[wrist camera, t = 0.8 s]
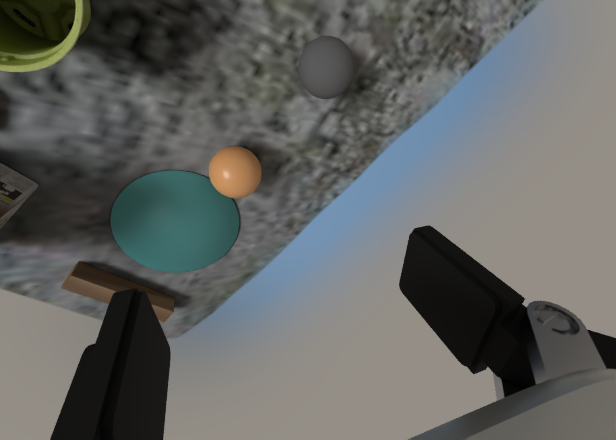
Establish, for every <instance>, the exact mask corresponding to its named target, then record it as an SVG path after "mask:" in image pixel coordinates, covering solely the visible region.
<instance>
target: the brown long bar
mask: <svg viewBox="0 0 616 440" xmlns="http://www.w3.org/2000/svg"><path fill="white" fill-rule="evenodd" d="M61 288H62V289H65V290H68V291H71V292H74V293H77V294H80V295H83V296H87V297H90V298H93V299H96V300H99V301H102V302H105V303H108V304H109V303H110V300H111V297H112V295H113V293H115V292H119V291H123V290H128V289H133V288H137V289H138V290H139V292H142V291H145V292H146V293H147V296H148V298H149V300H150V302H151V305H152V307H153V309H154V312H155V314H156V316H157V318H158V320H160V321H163V322H165V321H166V320H167V319H168V317H169V316H170V315H171V314H172V313H173V312H174V302H175V298H172V297H170V296H167V295H165V294H162V293H159V292H157V291H154V290H152V289H149V288H146V287H144V286H141V285H139V284H136V283H133V282H131V281H128V280H126V279H123V278H120V277H118V276H115V275H113V274H110V273H108V272H105V271H102V270H100V269H97V268H95V267H92V266H89V265H87V264H84V263H82V262H78V263H77V264H76V265H75V267H74V268H73V269H72V270H71V272H70V273H69V274H68V276H67V278H66V280H65V281H64V283H63V285H62V286H61Z"/></svg>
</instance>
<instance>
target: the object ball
mask: <svg viewBox="0 0 616 440" xmlns="http://www.w3.org/2000/svg"><path fill="white" fill-rule="evenodd" d="M261 176H262V170H261V166H260V163H259V161H258V159H257V158H256V156H255V155H254V154H253V153H252V152H251V151H249V150H247V149H245V148H243V147H239V146H230V147H226V148H223V149H221V150H220V151H218V152H217V153H216V154H215V155H214V156H213V158H212V160H211V162H210V165H209V177H210V181H211V183H212V185H213V186H214V187H215V189H216V190H217V191H218V192H220V193H221V194H223V195H225V196H227V197H230V198H242V197H245V196H248V195H250V194H251V193H253V192H254V191H255V190H256V188H257V187H258V185H259V183H260V181H261Z"/></svg>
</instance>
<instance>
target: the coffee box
mask: <svg viewBox="0 0 616 440" xmlns="http://www.w3.org/2000/svg"><path fill="white" fill-rule="evenodd" d="M38 186H39V185H38V184H37V183H36V182H34V181H32V180H30V179H28V178H27V177H25V176H23V175H21V174H19V173H18V172H16V171H14V170H12V169H11V168H9V167H7V166H5V165H3V164H2V163H0V229H1V228H2V227H3V225H4V224H5V223H6V222H7V221H8V220H9V219H10V218H11V216H12V215H13V214H14V213H15V212H16V211H17V210H18V209H19V207H20V206H21V205H22V204H23V203H24V202H25V201H26V200H27V198H28V197H29V196H30V195H31V194H32V193H33V192H34V191H35V190H36V189H37V187H38Z"/></svg>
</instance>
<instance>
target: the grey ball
mask: <svg viewBox="0 0 616 440" xmlns="http://www.w3.org/2000/svg"><path fill="white" fill-rule="evenodd" d="M353 73H354V60H353V56H352V53H351V51H350V49H349V48H348V46H347V45H346V44H345V43H344V42H343V41H341V40H340V39H338V38H336V37H332V36H322V37H319V38H316V39H314V40H313V41H311V42H310V43H309V44H308V45H307V46H306V47H305V49H304V50H303V52H302V54H301V57H300V61H299V76H300V80H301V82H302V84H303V86H304V87H305V89H306V90H307V91H308V92H309V93H310V94H312V95H313V96H315V97H318V98H322V99H329V98H334V97H336V96H338V95H340V94H341V93H342V92H344V91H345V90H346V88H347V87H348V86H349V84H350V82H351V80H352V77H353Z"/></svg>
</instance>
